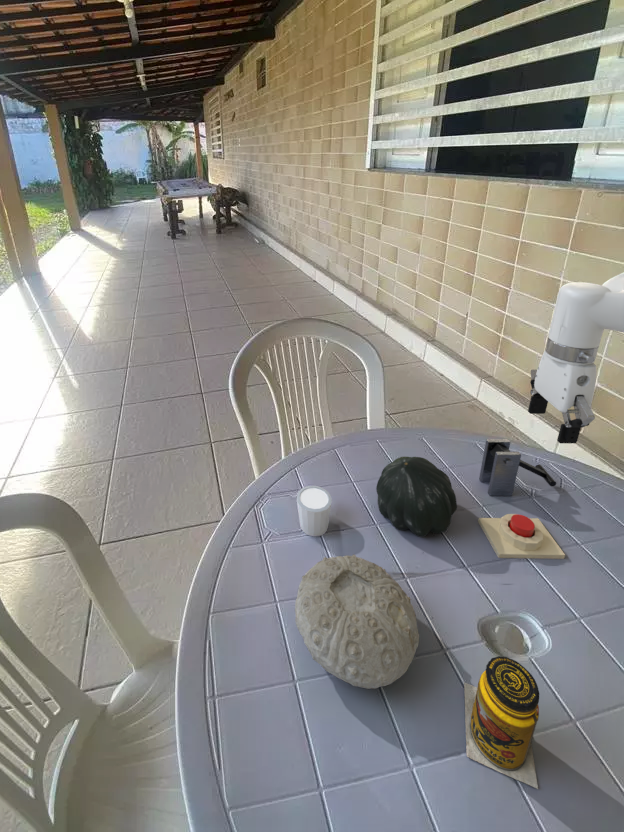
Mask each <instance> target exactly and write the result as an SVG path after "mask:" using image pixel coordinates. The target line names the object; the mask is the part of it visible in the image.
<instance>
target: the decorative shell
mask: <svg viewBox="0 0 624 832" xmlns="http://www.w3.org/2000/svg"><path fill="white" fill-rule="evenodd" d="M411 599H412V598H411V597H410V596H408V595H407V593H406V592H405V590H404V589H403V588H402V587H401V585H400V584H399V582H397V581H396V580H395V579H394V578H393V577H392V576H391V575H390V574H389V573H388V572H387V571H386V569H385V568H383V567H382V566H379V565H378V564H376V563H375V562H371V561H369V560H367V559H364V558H362V557H358V556H357V555H356V554H352V555H343V556H342V555H338V556H335V557H334V556H331V557H326V556H324V557H323V558H322V560H320V561H317V562H316V564H314V565H313V566H312V567H311V568H309V570H308V571H307V572H305V574H304V575H303V576H302V577H301V581H300V583H299V586H298V589H297V596H296V599H295V603H294V613H295V619H294V622H295V626H296V628H297V630H298V632H299V634H300V635H301V637H302V639H303V643H304V645H305V646H306V648H307V650H308V652H309V655H310V656H311V657H312V660H313V661H314V662H316V663H318V665H320V666H321V667H322V668H323V669H324V670H325V671H326V672H327V673H329V674H330V675H332V676H334V677H336V678H338V679H340V680H342V681H343V682H345V683H347V684H350V685H351V686H353V687H357V688H364V689H367V690H369V689H373V690H376V689H378V688H381V687H386V686H389V685H392V684H393V683H394V682H396V681H397V680H399V679H400V678H402V677H403V676H404V675H405V673H406V672H407V671H408V670H409V667H410V665H411V664H412V662H413V660H414V658H415V655H416V651H417V649H418V647H419V643H420V634H419V630H418V623H417V616H416V611H415V608H414V606H413V603H412V602H411Z"/></svg>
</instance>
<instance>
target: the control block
mask: <svg viewBox="0 0 624 832" xmlns="http://www.w3.org/2000/svg"><path fill="white" fill-rule="evenodd" d="M516 514H517V513H506V514H504V515H503V516H501V517H478V520H477V523H478V525H479V526H480V528H481V529H482V532H483V533H484V535H485V537H486V538H487V540H488V542H489V544H490V545H491V547H492V550H493V551H494V552H495V555H496V556H497V558H498V559H541V560H544V559H547V560H548V559H549V560H550V559H553V560H564V559H565V558H566V554H565V553H564V551H563V550H562V549H561V547H560V546H559V544H558V542H556V540H555V539H554V538H553V536H552V535H551V533H550V532H549V531H548V528H546V526H545V525H544V524H543V523H542V521H541V520H540V519H539V518H538V517H536V518H535V517H534V518H533V517H528V518H529V519H530V520H532V521H533V523H534V525H535V528H534V532H533V535H532V536H531V537H528V538H526V537H521V536H519V535H517V534H515V533H514V532H513V531H512V530H511V529H510V521H511V517H512V516H513V515H516Z"/></svg>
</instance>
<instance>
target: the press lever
mask: <svg viewBox="0 0 624 832" xmlns="http://www.w3.org/2000/svg"><path fill="white" fill-rule="evenodd" d="M496 452H511V450H510V448H509V449H507V448H505V447H503V446H501V445H499V444H497V445H496V446H495V447H494V448H493V449H492V450H491V451H490V453H491V454H492V455H493V457H494V458H495V453H496ZM519 467H521V468H523V469H525V470H527V471H529V472H530V473H533V474H535V475H537V476H538V477H541V478H543V479H544V481H545V482H546V483H547V484H548V486H550V487H555V486H556V485H557V481H556V480H555V479H554V478H553V477H552V476H551V475H550V474H549V472H548V471H547V470H546V469H545V468H544V466H543V465H542V464H536V465H535V466H534V465H532V464H530V463H528V462H526V461H524V460H522V459H520V463H519Z"/></svg>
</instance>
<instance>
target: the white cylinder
mask: <svg viewBox="0 0 624 832" xmlns="http://www.w3.org/2000/svg"><path fill="white" fill-rule="evenodd" d="M332 503H333V498H332V496H331V493H330V492H329V491H328V490H327V489H326V488H323V487H322V486H317V485H307V486H304V487H302V488H300V490H299V491H297V494H296V505H297V511H298V520H299V521H298V522H299V527H300V529H301V531H302V532H303V533H304V534H306V535H307V536H311V537H321V536H323V535H325V534H326V533H327V532H328V528H329V525H330V524H329V523H330V517H331V516H330V515H331V509H332Z"/></svg>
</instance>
